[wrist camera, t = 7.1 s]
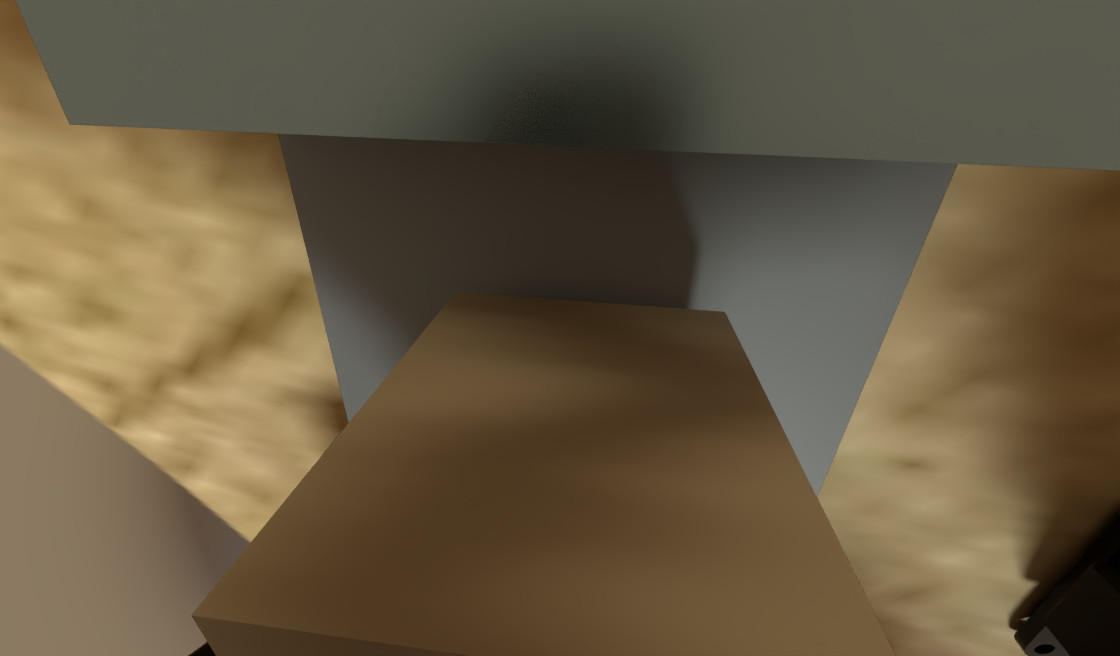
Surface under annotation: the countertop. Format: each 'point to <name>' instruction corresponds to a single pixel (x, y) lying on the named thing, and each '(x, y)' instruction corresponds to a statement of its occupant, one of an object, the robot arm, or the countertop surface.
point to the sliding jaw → (609, 73)
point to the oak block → (552, 505)
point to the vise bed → (620, 251)
